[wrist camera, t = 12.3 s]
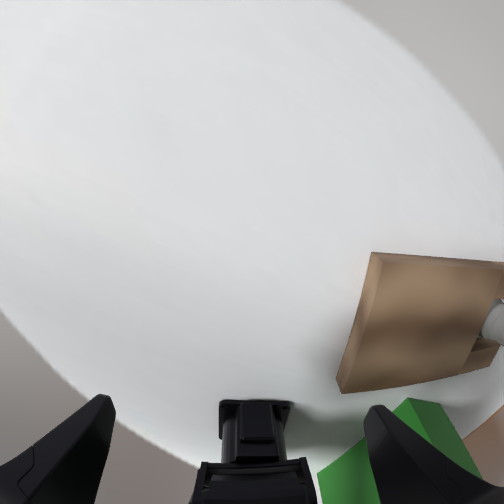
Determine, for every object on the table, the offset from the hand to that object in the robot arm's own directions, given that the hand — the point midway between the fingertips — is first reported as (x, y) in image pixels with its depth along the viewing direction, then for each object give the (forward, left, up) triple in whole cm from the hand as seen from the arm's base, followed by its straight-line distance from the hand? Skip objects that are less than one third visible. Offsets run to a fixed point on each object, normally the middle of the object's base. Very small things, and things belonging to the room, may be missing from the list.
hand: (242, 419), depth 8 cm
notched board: (-4, -19, -12) cm, 23 cm away
